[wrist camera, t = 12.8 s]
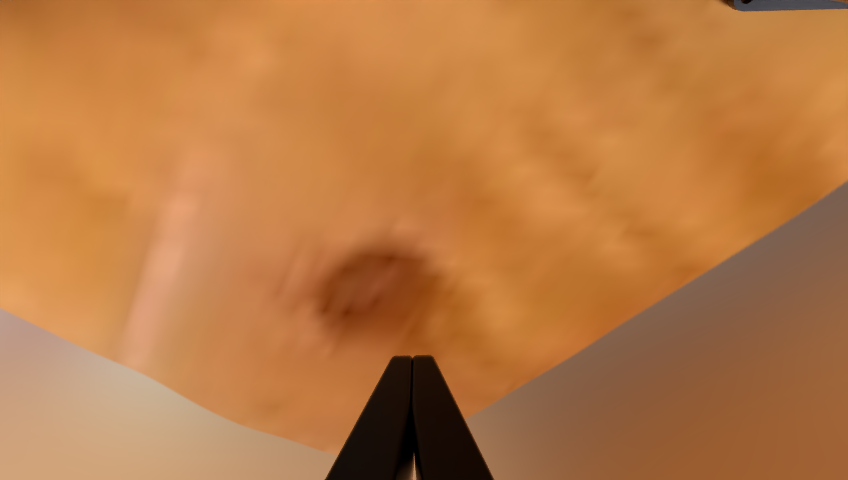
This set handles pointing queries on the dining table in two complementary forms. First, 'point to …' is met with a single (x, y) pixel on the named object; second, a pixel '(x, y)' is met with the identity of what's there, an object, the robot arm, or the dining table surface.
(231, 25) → the dining table surface
